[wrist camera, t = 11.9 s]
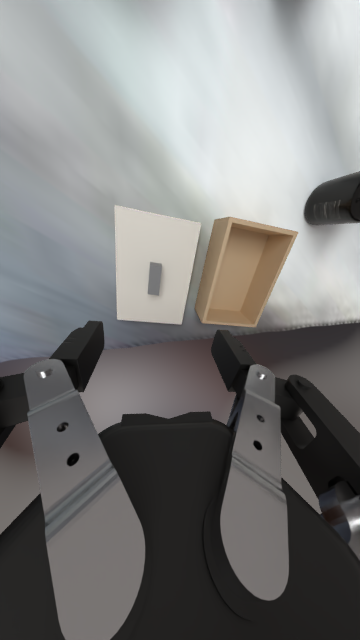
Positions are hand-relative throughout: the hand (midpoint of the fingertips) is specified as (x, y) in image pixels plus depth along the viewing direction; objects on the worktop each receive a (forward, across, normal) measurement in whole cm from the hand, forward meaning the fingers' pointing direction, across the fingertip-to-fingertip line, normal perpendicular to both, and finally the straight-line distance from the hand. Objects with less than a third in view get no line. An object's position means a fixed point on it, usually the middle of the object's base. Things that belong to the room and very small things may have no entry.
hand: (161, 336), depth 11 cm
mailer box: (+24, -15, -1) cm, 29 cm away
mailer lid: (+24, +1, +1) cm, 24 cm away
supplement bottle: (+24, -29, -16) cm, 41 cm away
